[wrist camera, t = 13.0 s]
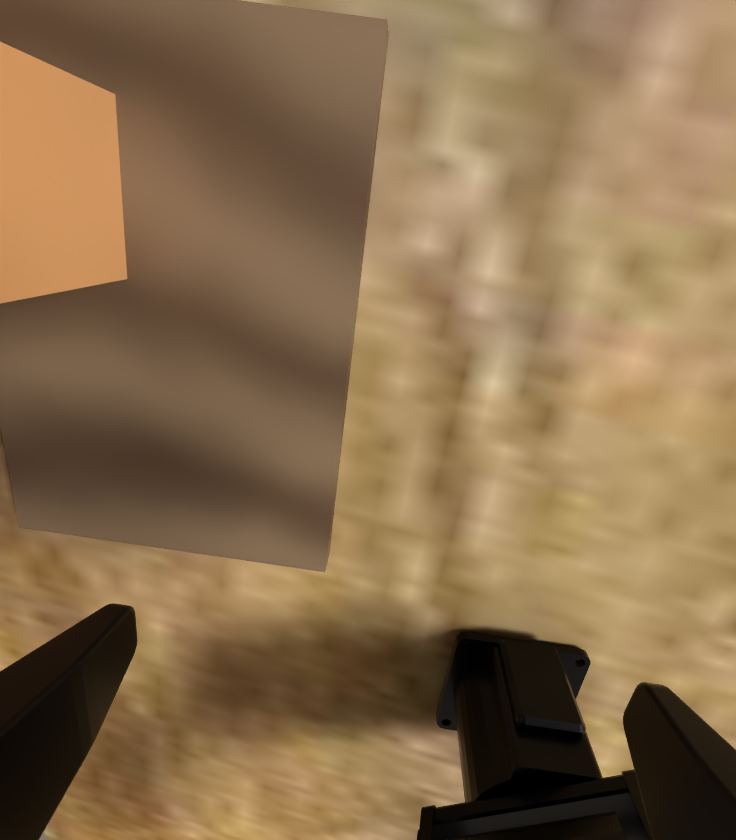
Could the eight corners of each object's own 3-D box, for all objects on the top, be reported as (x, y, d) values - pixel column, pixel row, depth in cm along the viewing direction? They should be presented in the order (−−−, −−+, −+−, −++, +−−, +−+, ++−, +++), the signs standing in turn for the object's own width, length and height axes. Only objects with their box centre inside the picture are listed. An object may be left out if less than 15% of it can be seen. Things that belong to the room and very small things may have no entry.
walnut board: (328, 555, 22) (325, 572, 21) (37, 512, 23) (18, 527, 22) (388, 35, 15) (387, 19, 14) (-52, -22, 15) (-89, -42, 14)
